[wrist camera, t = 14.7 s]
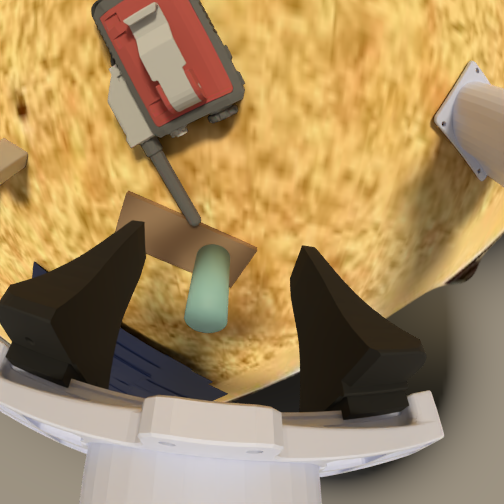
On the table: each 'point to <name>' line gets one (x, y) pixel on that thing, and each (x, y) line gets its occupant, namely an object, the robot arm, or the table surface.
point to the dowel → (209, 290)
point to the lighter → (10, 159)
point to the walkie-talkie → (166, 75)
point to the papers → (151, 370)
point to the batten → (181, 236)
